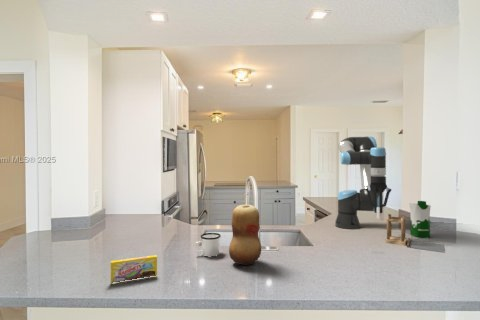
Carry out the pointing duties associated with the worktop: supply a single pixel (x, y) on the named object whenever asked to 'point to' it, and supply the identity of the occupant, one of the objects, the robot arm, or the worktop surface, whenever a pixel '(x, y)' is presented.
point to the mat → (427, 246)
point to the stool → (402, 239)
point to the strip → (408, 242)
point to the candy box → (133, 268)
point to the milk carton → (420, 219)
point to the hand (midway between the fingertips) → (378, 218)
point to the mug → (210, 244)
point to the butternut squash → (245, 235)
